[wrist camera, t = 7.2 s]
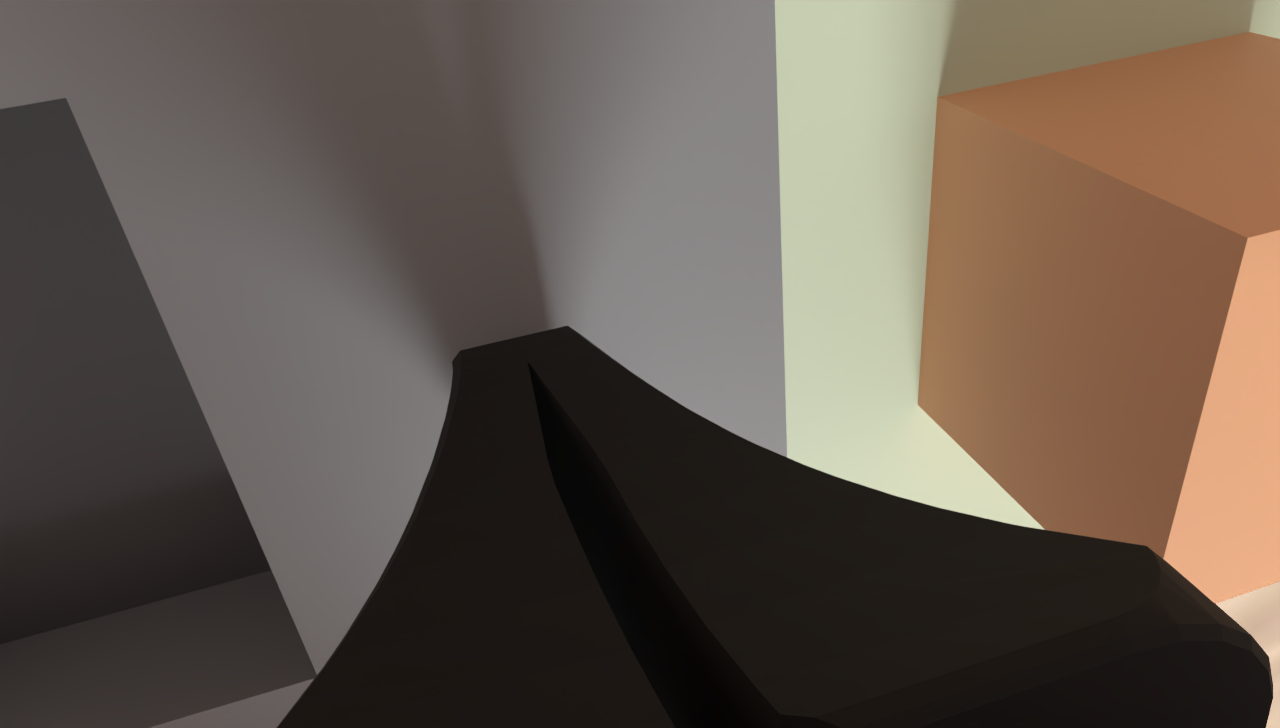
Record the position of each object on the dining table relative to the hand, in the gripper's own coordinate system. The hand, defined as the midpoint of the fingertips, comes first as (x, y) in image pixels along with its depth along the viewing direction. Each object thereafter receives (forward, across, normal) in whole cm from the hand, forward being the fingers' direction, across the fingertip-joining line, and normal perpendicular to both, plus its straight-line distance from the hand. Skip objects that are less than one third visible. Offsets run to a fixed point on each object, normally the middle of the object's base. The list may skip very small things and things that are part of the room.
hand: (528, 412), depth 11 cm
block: (+1, -8, 0) cm, 8 cm away
